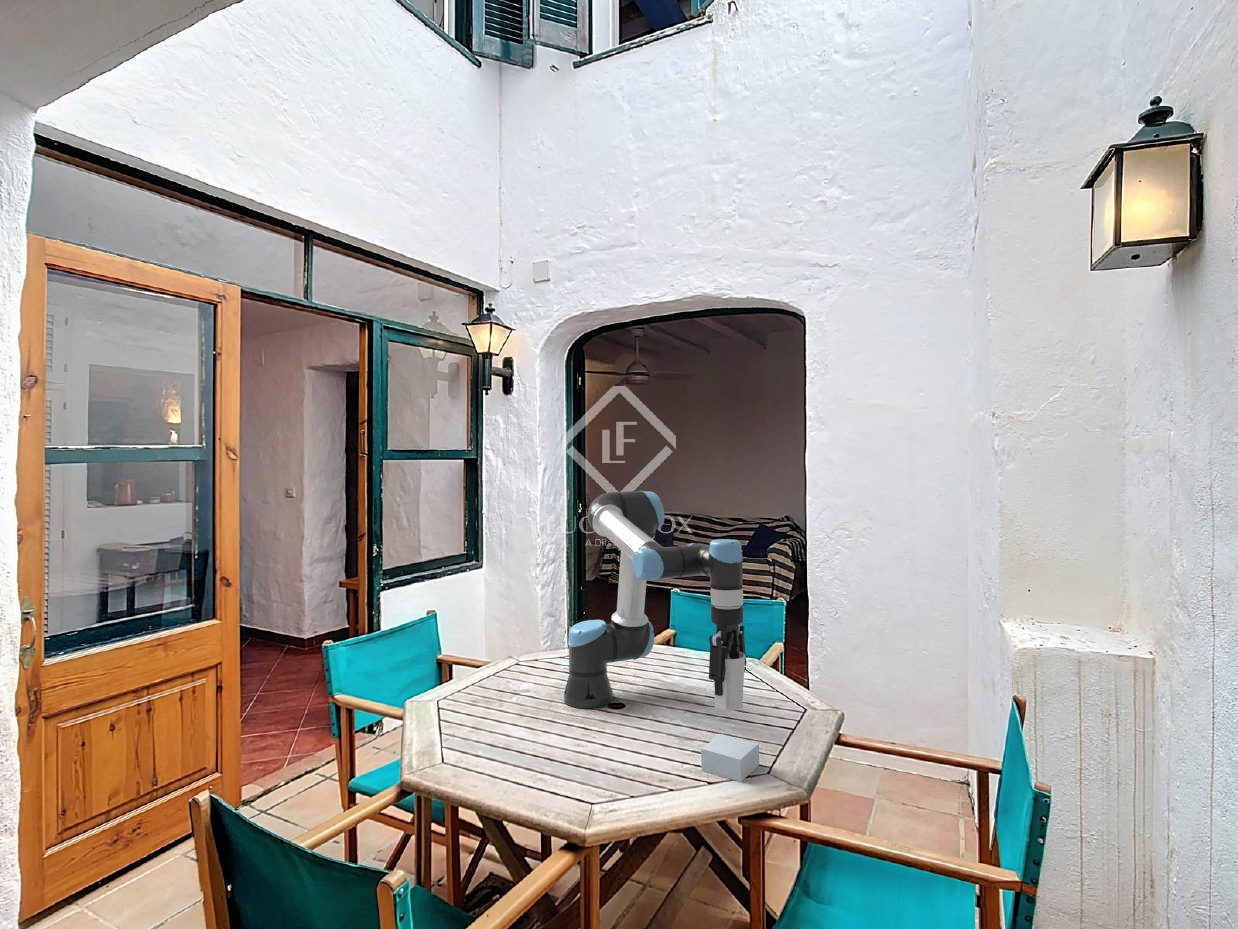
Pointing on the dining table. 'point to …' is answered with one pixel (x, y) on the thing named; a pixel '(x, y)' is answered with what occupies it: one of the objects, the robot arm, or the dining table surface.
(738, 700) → the cup
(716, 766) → the pedestal block
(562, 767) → the dining table surface
